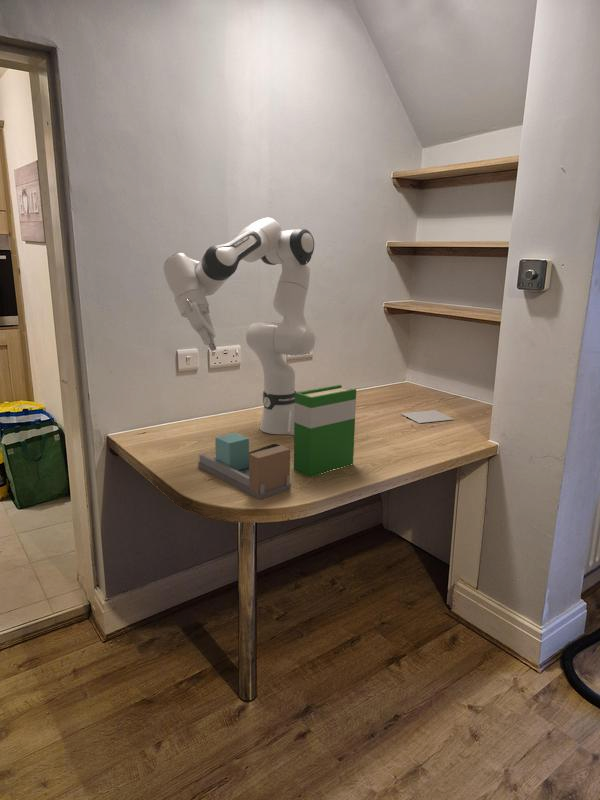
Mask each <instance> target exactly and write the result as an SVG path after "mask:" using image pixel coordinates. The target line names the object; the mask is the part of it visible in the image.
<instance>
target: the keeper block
mask: <svg viewBox="0 0 600 800" xmlns="http://www.w3.org/2000/svg"><path fill="white" fill-rule="evenodd" d="M214 438H215V439H214V441H215V442H214V443H215V448H214V449H215V458H216V460H217V461H219V462H221V463H223V464H225V465H227V466H229V467H231V468H233V469H235V470H237V471H239V470H242V469H245V468H249V452H250V438H249V437H246V436H245V435H242V434H239V433H237V432H232V433H228V434H223V435H219V436H216V437H214Z"/></svg>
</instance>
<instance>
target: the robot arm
mask: <svg viewBox="0 0 600 800" xmlns="http://www.w3.org/2000/svg"><path fill="white" fill-rule="evenodd" d="M314 251H315V239H314V236H313V234H312V233H311V231H310V230H308V229H306V228H295V229H287V230H282V228H281V225H280V224H279V223H278V221H277V220H276V219H274V218H272V217H263V218H259V219H258V220H256V221H254V222H252V223H249V224H248V225H247V226H245V227H244V228H243V229H242V230H241V231H239V232H238V234H237V235H236V236H235V237H234V239H232V240H230V241H229V242H227V243H223V244H222V243H221V244H215V245H211V246H210V247H209V248H207V250H206V251H205V252H204V254H203V256H202V258H201V259H200V260H195V259H193V258H191V257H189V256H187V255H186V254H185V253H184V252H178V253H174V254H173V255H171V256H169V257H168V258H167V259H166V261H165V262H164V263H163V266H162V269H163V274H164V277H165V279H166V283H167V285H168V288H169V289H170V291H171V293H172V294H173V296H174V301H175V304H176V306H177V308H178V311H179V313H180V316H181V317H182V318H186V319H187V320H188V322H189V324H190V326H191V328H192V329H193V330H194V331H195V332H196V333H197V334H198V335H199V337H200V339H201V340H202V342H203V344H204V345H205V346H208V347H209V350H210V351H211V352H215V351H216V350H217V347H216V344H215V341H214V339H215V338H216V334H215V333H216V332H215V328H214V326H213V323H212V319H211V317H210V314H211V312H210V309H209V306H210V303H209V301H208V300H207V297H206V296H211V295H214V294H215V293H216V292H217V291H218V290H219V289H220V288H221V287H222V286H223V285H224V284H225V283H226V281H227V280H228V279H229V278H230V277H231V276H233V274H235V272H236V270H237V269H238V267H239V263H240V262H241V261H242V260H243V261H245V262H248V263H254V262H256V261H258V260H261V261H262V262H263V263H264V264H266V265H269V266H270V265H271V266H276V265H281V274H280V276H279V279H278V282H277V285H276V286H277V287H276V289H275V290H276V291H275V294H274V297H273V301H272V304H273V308H274V310H275V311H276V312H277V313H278V314H279V315H280V316H281V317H283V318H282V322H273V321H272V322H270V321H261V322H254V323H251V324H250V325H249V327H248V328H247V330H246V333H245V341H246V344H247V346H248V347H249V349H250V350H251V351H253V352H254V353H255V356H256V357H257V358H258V359H259V361H260V364H261V366H262V370H263V381H264V382H263V383H264V384H263V385H264V386H263V388H264V389H263V392H262V402H263V411H262V418H261V422H260V426H259V430H260V431H261V432H263V433H265V434H266V433H267V434H272V435H291V436H294V414H295V393H296V392H297V391H296V386H295V385H296V371H295V369H294V368H293V367H292V366H291V365H290V364H288V363H287V362H286V361H285V360H284V358H283V356H282V355H284V356H285V355H286V356H302V355H303V356H304V355H309V354H310V353H311V352H312V351H313V349H314V346H315V344H316V337H315V332H314V331H313V329H312V328H311V327H310V326H309V325H308V323H307V322H306V320H305V314H304V313H305V312H304V310H305V304H306V299H307V294H308V290H309V283H310V274H311V271H310V267H309V265H308V263H310V261H311V259H312V256H313V253H314ZM298 392H301V391H298Z"/></svg>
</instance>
